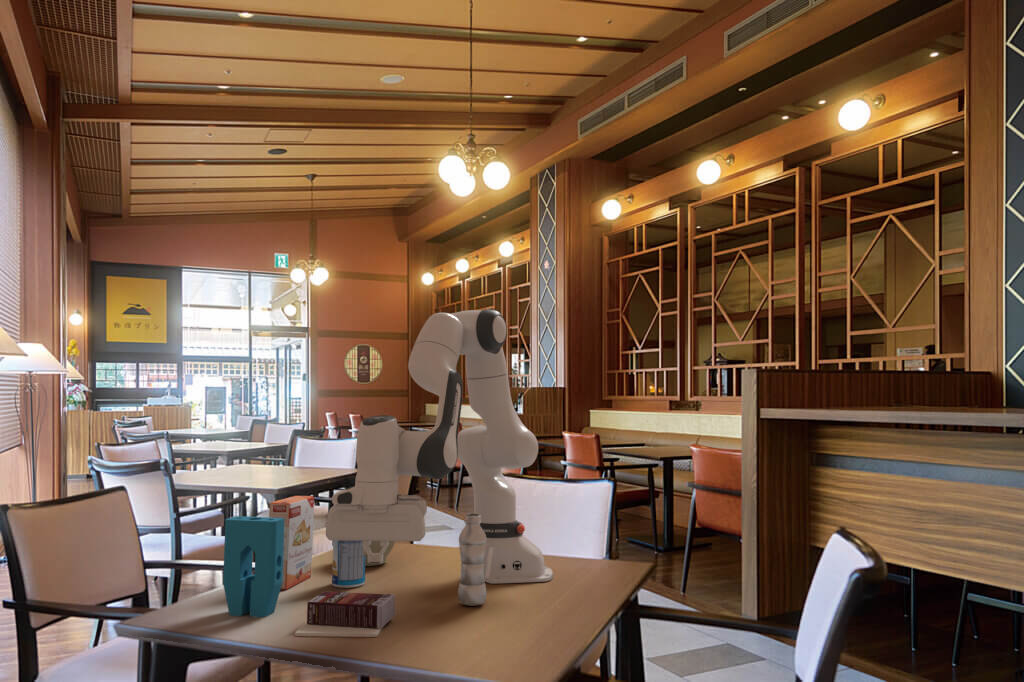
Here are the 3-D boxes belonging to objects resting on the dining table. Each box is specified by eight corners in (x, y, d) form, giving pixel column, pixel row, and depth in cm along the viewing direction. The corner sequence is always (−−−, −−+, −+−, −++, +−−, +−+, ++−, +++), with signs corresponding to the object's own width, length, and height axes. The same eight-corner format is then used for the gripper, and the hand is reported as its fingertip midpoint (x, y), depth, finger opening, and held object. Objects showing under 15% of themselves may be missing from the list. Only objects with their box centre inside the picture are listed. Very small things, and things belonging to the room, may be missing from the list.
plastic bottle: (465, 610, 161) (466, 518, 163) (453, 602, 167) (454, 513, 169) (491, 606, 164) (492, 516, 166) (478, 599, 170) (479, 511, 172)
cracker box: (287, 590, 177) (290, 502, 178) (264, 589, 178) (267, 502, 179) (313, 577, 190) (315, 495, 192) (291, 575, 191) (294, 494, 193)
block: (283, 611, 159) (286, 518, 161) (271, 618, 155) (274, 521, 156) (233, 608, 162) (236, 516, 163) (220, 614, 157) (223, 519, 158)
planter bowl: (408, 560, 211) (408, 521, 212) (375, 572, 196) (376, 530, 197) (361, 555, 217) (362, 517, 218) (327, 566, 203) (328, 526, 204)
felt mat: (389, 615, 157) (389, 612, 157) (377, 636, 143) (377, 633, 143) (315, 615, 157) (315, 612, 157) (295, 636, 143) (295, 632, 143)
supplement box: (381, 604, 146) (306, 601, 148) (381, 629, 145) (306, 626, 148) (395, 592, 154) (324, 590, 157) (395, 616, 154) (323, 613, 156)
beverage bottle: (349, 590, 177) (351, 506, 179) (323, 586, 181) (325, 503, 183) (372, 583, 184) (374, 502, 186) (347, 578, 189) (349, 500, 190)
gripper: (428, 492, 155) (427, 559, 154) (332, 492, 155) (330, 558, 154) (424, 496, 149) (423, 566, 147) (324, 495, 149) (322, 565, 148)
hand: (375, 562), depth 151 cm, fingers closed
